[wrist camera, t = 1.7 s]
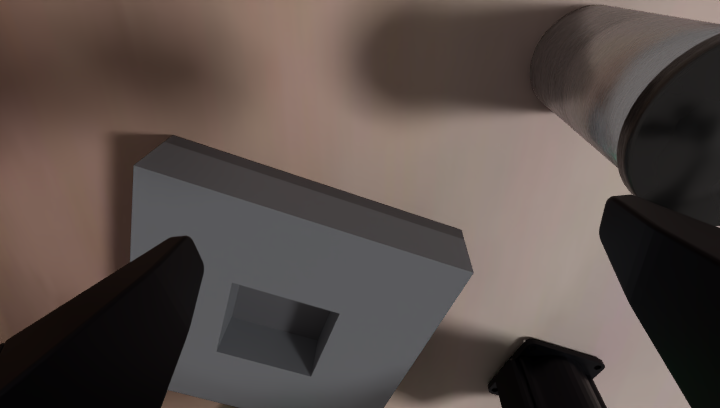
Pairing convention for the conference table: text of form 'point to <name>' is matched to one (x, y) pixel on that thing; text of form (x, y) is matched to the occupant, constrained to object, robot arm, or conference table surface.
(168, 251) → the robot arm
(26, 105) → the conference table surface
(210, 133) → the conference table surface
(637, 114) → the tube
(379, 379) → the mount block
